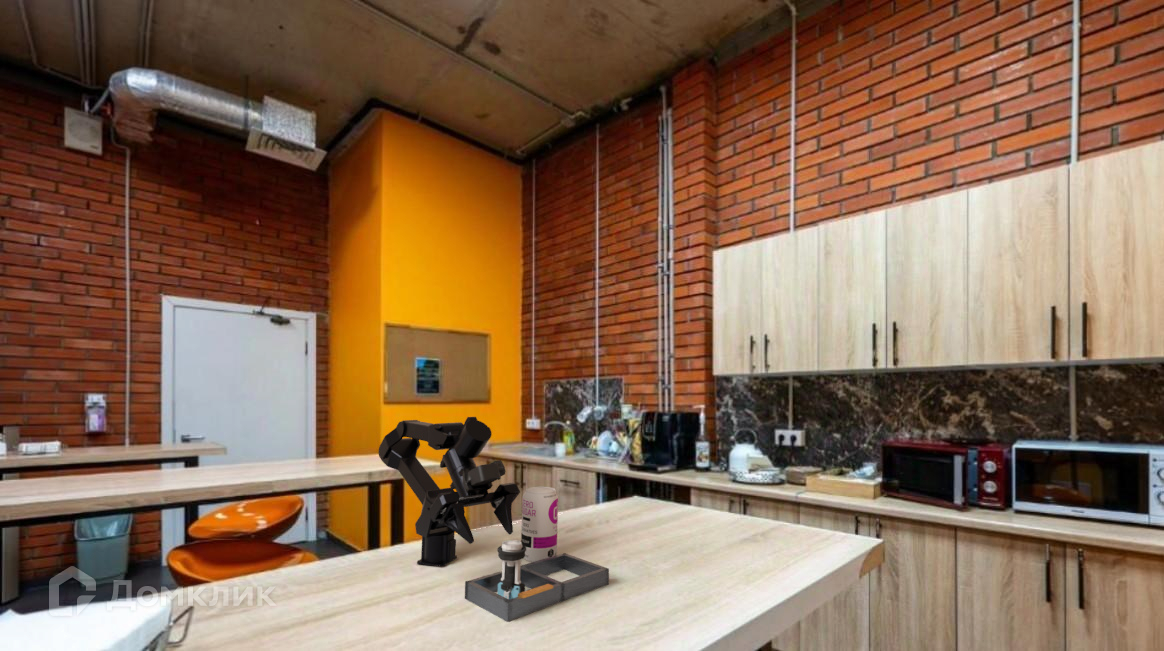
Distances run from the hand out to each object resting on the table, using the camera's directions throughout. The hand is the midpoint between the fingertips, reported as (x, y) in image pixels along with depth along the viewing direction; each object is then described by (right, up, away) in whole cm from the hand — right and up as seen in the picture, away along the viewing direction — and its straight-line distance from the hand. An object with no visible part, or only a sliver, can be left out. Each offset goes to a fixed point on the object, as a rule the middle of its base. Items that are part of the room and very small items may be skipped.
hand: (492, 537), depth 107 cm
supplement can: (+8, -11, +18) cm, 23 cm away
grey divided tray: (+9, -9, -2) cm, 13 cm away
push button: (+5, -9, -6) cm, 12 cm away
